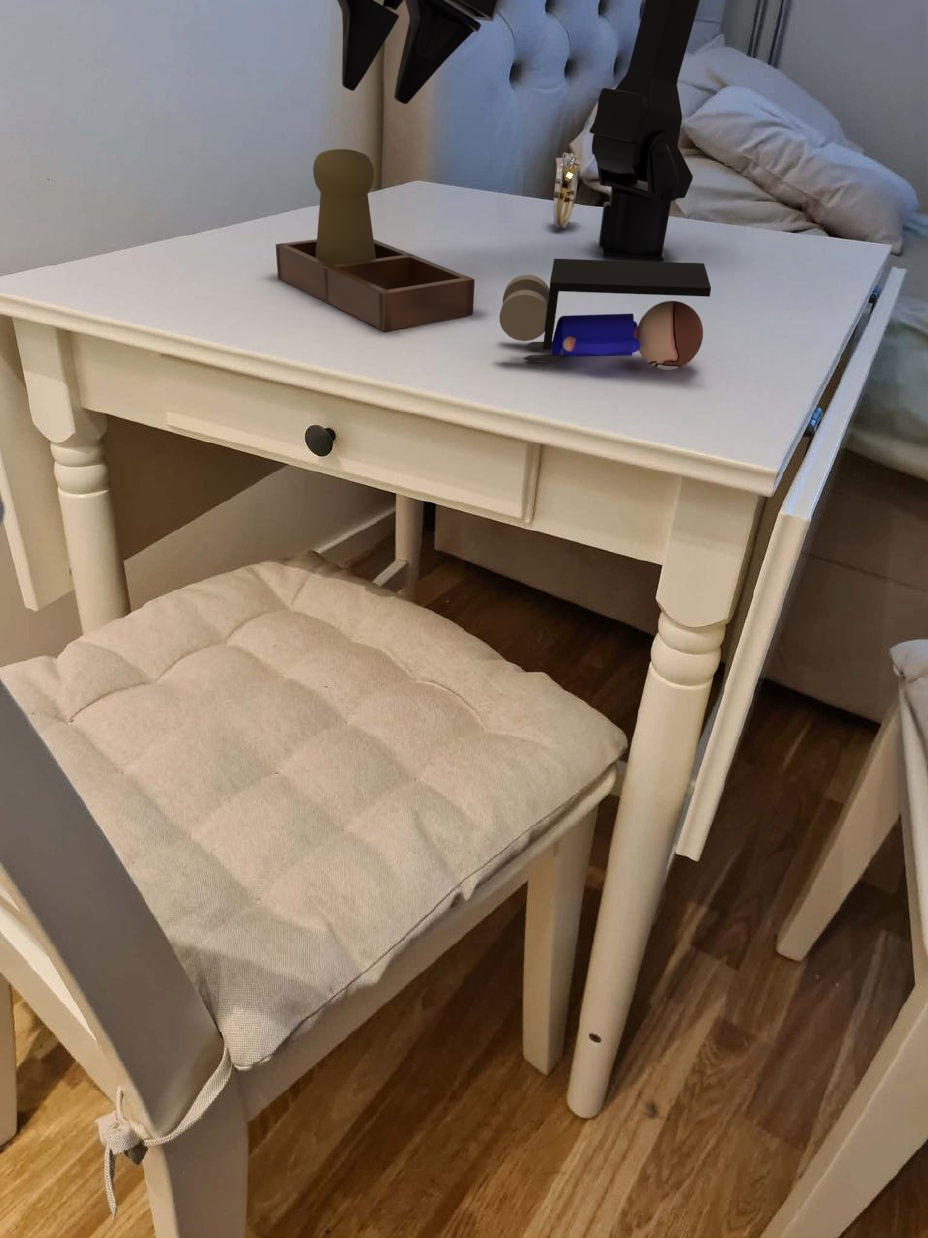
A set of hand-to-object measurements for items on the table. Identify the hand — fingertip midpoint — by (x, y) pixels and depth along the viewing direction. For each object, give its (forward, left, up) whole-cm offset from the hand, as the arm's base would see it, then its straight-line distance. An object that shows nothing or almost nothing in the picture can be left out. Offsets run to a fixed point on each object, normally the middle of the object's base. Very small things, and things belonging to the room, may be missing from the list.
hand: (372, 94), depth 73 cm
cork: (+2, +1, -15) cm, 16 cm away
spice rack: (0, +4, -15) cm, 16 cm away
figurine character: (-21, +16, -15) cm, 30 cm away
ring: (-17, -30, -15) cm, 38 cm away
